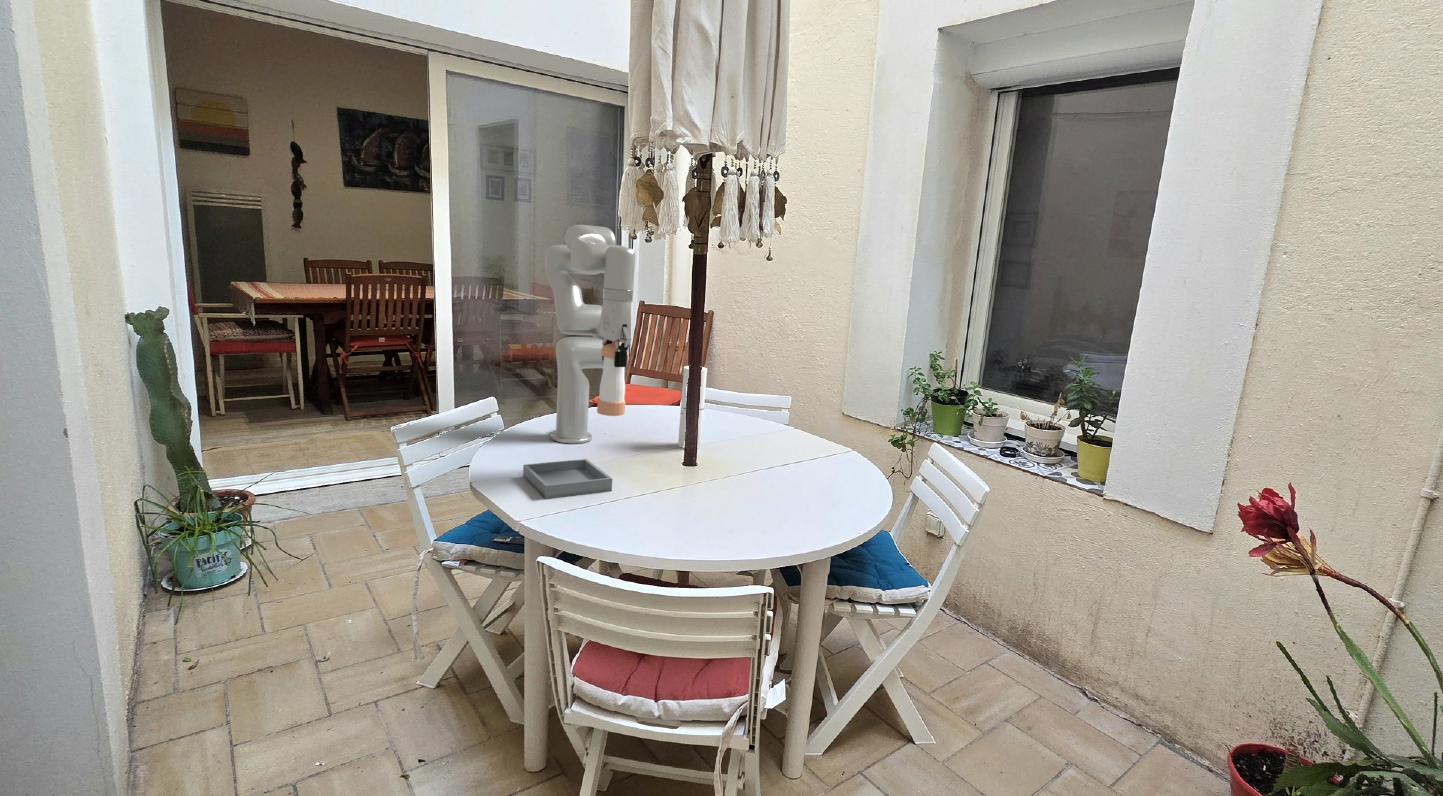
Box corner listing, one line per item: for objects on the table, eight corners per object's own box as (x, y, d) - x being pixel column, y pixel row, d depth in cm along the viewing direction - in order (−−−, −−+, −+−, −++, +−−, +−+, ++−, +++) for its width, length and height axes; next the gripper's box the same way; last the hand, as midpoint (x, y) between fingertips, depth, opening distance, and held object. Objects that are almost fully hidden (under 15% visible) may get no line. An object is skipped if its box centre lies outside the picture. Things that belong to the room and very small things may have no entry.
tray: (523, 476, 179) (523, 464, 178) (585, 470, 188) (586, 458, 187) (545, 498, 165) (545, 485, 164) (611, 490, 174) (612, 478, 174)
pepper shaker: (620, 409, 191) (624, 339, 187) (628, 415, 185) (633, 344, 181) (593, 409, 188) (597, 338, 184) (601, 416, 182) (605, 343, 177)
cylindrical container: (690, 450, 215) (697, 370, 210) (673, 445, 219) (679, 367, 214) (705, 447, 220) (711, 369, 215) (687, 441, 225) (694, 365, 220)
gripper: (591, 291, 185) (587, 357, 188) (618, 299, 170) (614, 370, 174) (617, 292, 189) (613, 357, 192) (646, 300, 175) (641, 370, 178)
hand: (613, 363), depth 183 cm, fingers closed on pepper shaker, 7 cm apart
